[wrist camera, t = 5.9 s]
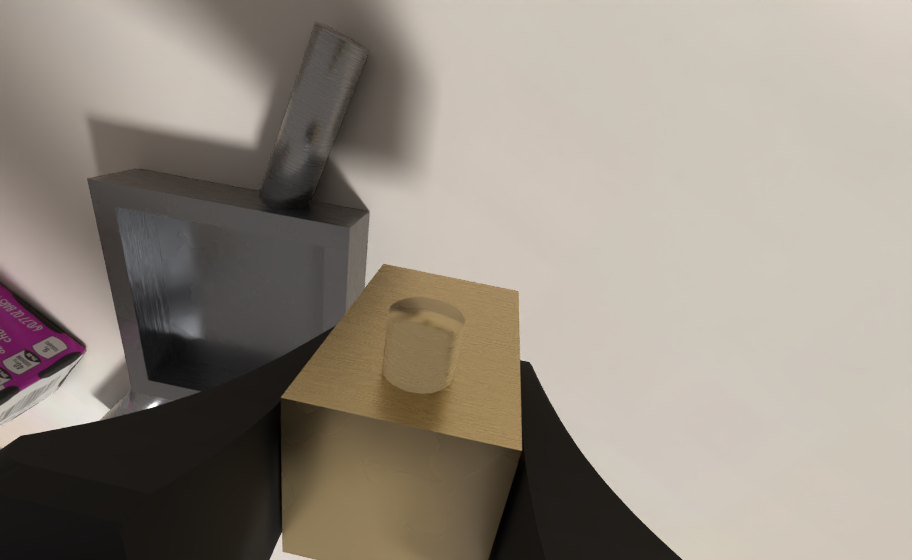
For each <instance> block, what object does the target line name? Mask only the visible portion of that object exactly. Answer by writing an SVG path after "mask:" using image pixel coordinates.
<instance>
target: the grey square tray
mask: <svg viewBox="0 0 912 560" xmlns="http://www.w3.org/2000/svg"><path fill="white" fill-rule="evenodd" d="M87 180H88V184H89V189H90V194H91V198H92V203H93V208H94V212H95V217H96V222H97V226H98V231H99V236H100V241H101V245H102V250H103V255H104V259H105V264H106V269H107V273H108V278H109V283H110V288H111V292H112V297H113V302H114V306H115V311H116V316H117V320H118V325H119V330H120V334H121V339H122V344H123V349H124V353H125V358H126V363H127V367H128V372H129V377H130V381H131V386H132V391H133V392H136V393H140V394H145V395H150V396H154V397H159V398H164V399H168V400H173V401H174V400H177V399H180V398H183V397H186V396H189V395H192V394H195V393H198V392H201V391H204V390H207V389H210V388H212V387H215V386H217V385H220V384H223V383H225V382H228V381H230V380H233V379H235V378H237V377H240V376H242V375H244V374H246V373H249V372H251V371H253V370H255V369H257V368H259V367H261V366H263V365H265V364H267V363H269V362H271V361H273V360H275V359H277V358H279V357H281V356H283V355H285V354H287V353H288V352H290V351H292V350H294V349H296V348H297V347H299V346H301V345H303V344H304V343H306V342H308V341H310V340H312V339H313V338H315V337H317V336H318V335H320V334H322V333H323V332H325V331H327V330H329V329H330V328H332V327H334V326H336V325H337V324H338V322H339V321H340V320H341V318H342V317H343V316H344V315H345V313H346V312H347V311H348V309H349V308H350V307H351V305H352V304H353V303H354V302H355V300H356V299H357V298H358V296H359V295H360V294H361V292H362V291H363V290H364V286H365V271H366V257H367V242H368V227H369V212H368V211H363V210H357V209H352V208H347V207H341V206H336V205H330V204H325V203H320V202H314V201H310V204H309V206H308V207H307V208H304V209H300V210H276V209H271V208H269V207H268V206H266V205H265V204H264V203H262V202H261V200H260V199H259V197H258V194H259V191H255V190H250V189H244V188H239V187H234V186H228V185H223V184H217V183H212V182H207V181H201V180H196V179H191V178H185V177H180V176H174V175H169V174H164V173H158V172H153V171H147V170H142V169H133V170H128V171H123V172H118V173H113V174H108V175H103V176H98V177H93V178H88V179H87Z"/></svg>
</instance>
